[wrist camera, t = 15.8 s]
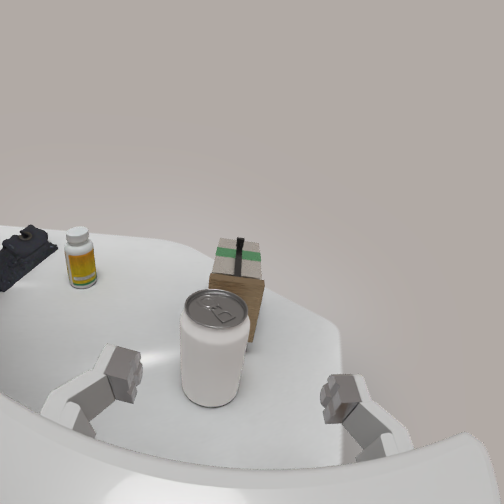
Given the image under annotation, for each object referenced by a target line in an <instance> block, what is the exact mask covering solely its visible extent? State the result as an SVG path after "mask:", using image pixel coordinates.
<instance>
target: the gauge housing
mask: <svg viewBox="0 0 504 504" xmlns="http://www.w3.org/2000/svg"><path fill="white" fill-rule="evenodd" d="M236 242H237V240H231V239H224V238H220V241H219V245H218V247H217V251H216V257H215V261H214V266H213V270H212V273H213V274H220V275H228V276H234V267H235V257H236ZM260 261H261V256H260V251H259V244H258V243H253V242H246V241H244V246H243V248H242V267H241V277H243V278H251V279H259V280H262V274H261V262H260Z"/></svg>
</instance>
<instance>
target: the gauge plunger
mask: <svg viewBox="0 0 504 504" xmlns="http://www.w3.org/2000/svg"><path fill="white" fill-rule="evenodd" d="M243 246H244V238H237V242H236V257H235V267H234V276H228V275H220V274H213V273H211V274H210V278H209V288H208V289H220V290H225V291H229V292H231V293H234V294H236V295H238V296H239V297H240V298H242V299H243V300H244V301H245V303H246V304H247V306H248V317H249V320H250V331H249V336H248V342H253V337H254V333H255V328H256V324H257V319H258V315H259V310H260V305H261V301H262V296H263V291H264V287H265V285H264V280H259V279H251V278H243V277H241V267H242V248H243Z"/></svg>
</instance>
